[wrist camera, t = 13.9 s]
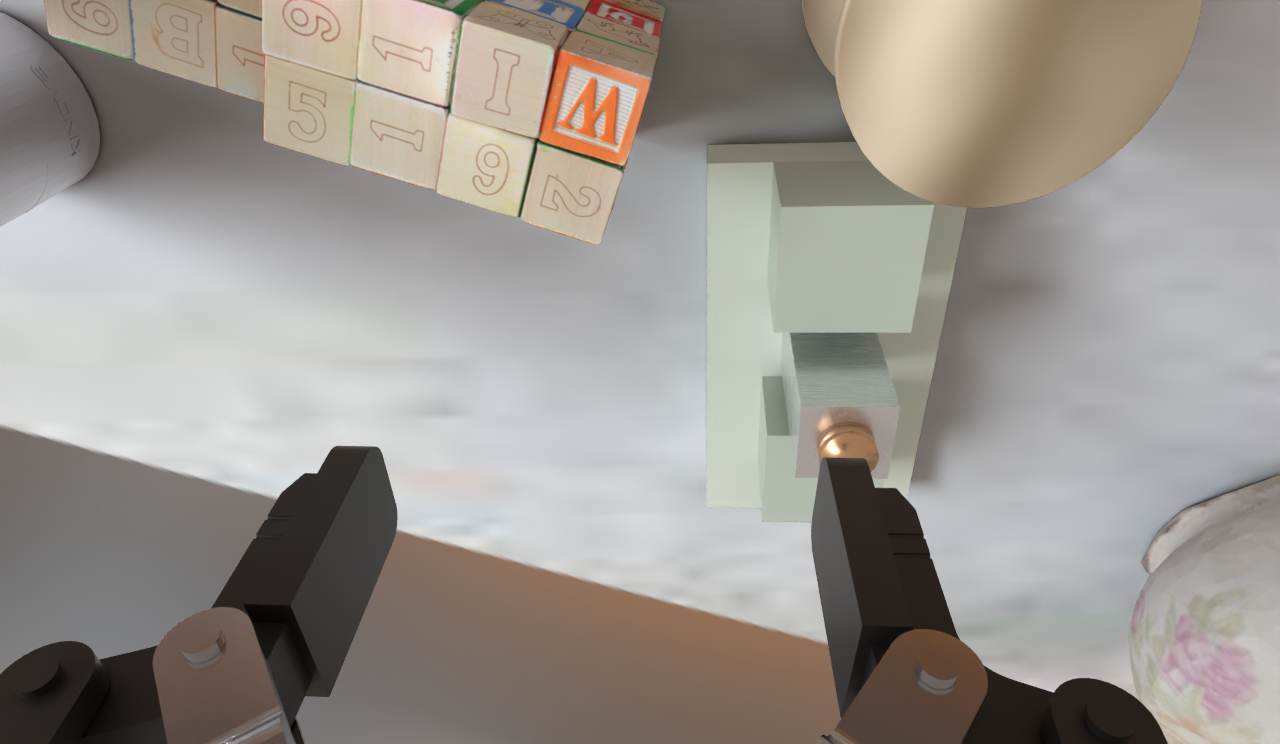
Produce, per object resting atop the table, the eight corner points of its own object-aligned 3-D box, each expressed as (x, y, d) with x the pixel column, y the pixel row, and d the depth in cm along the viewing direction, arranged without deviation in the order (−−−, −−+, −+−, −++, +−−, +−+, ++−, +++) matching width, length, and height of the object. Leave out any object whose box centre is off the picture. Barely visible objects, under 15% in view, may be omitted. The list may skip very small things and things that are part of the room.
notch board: (706, 479, 51) (705, 569, 44) (707, 144, 38) (706, 208, 32) (896, 482, 50) (922, 575, 43) (962, 139, 37) (1012, 203, 31)
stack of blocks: (184, -12, 36) (-22, 55, 26) (178, -172, 32) (-64, -165, 22) (630, 136, 38) (601, 252, 28) (671, 4, 35) (654, 81, 25)
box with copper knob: (784, 297, 40) (803, 421, 31) (865, 296, 39) (905, 422, 31) (780, 362, 42) (797, 493, 34) (856, 362, 42) (891, 495, 33)
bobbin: (793, 100, 36) (825, 210, 26) (810, -159, 31) (859, -146, 21) (1016, 95, 36) (1137, 205, 25) (1077, -174, 30) (1264, -168, 20)
